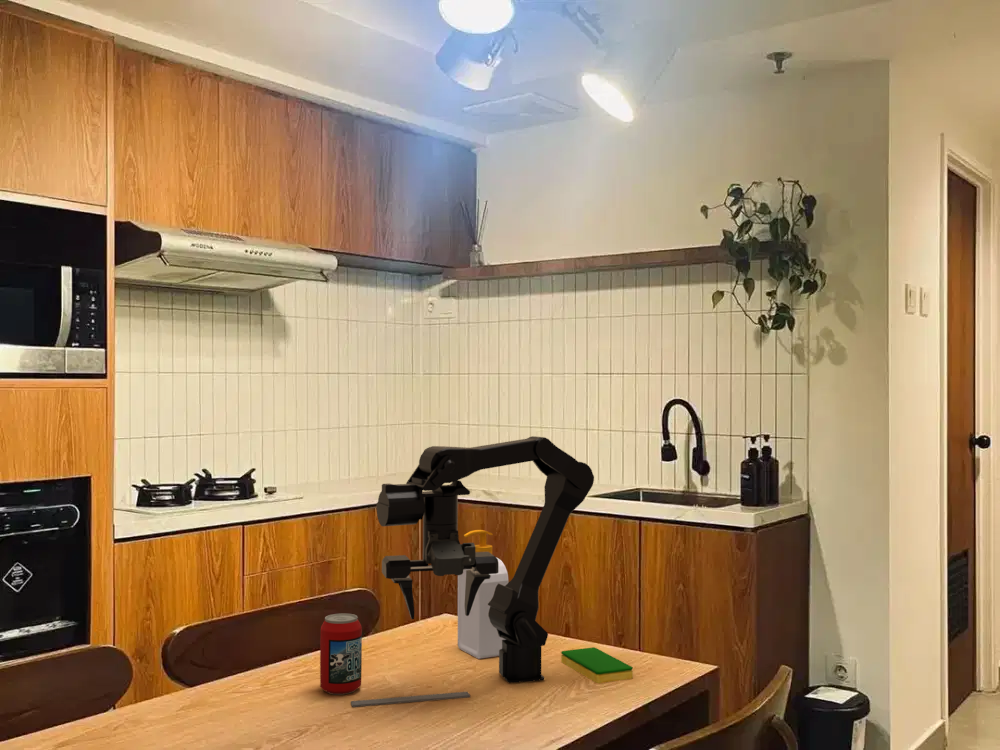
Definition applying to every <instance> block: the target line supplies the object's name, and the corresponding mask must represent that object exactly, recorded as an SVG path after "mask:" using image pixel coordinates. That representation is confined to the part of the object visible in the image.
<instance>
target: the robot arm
mask: <svg viewBox="0 0 1000 750" xmlns="http://www.w3.org/2000/svg"><path fill="white" fill-rule="evenodd" d="M526 462H527V463H528V462H532V463H533V464H534V465H535V466H536V467H537V469H538V470H539V471H540V472H541V473H542V474H543V475H544V476H546V480H545V482H544V505H543V507H542V509H541V512H540V513H539V515H538V516H539V517H538V519H537V521H536V523H535V526H534V529H533V530H532V533H531V536H530V537H529V539H528V542H527V544H526V547H525V549H524V551H523V554H522V556H521V558H520V560H519V563H518V565H517V568H516V571H515V573H514V576H513V577H512V579H510V580H509V581H508V584H507V585H506V586H503V585H501V584H497V586H496V588H495V592H494V595H493V598H492V599H491V601H490V602H489V603H488V605H489V606H490V609H489V613H488V616H489V619H490V622H491V624H492V625H493V627H495V628H496V629H497V632H498V635H499V637H501V638H504V639H506V640H502V649H500V650H499V656H498V673H499V674H500V676H501V677H502V678H503V679H504V680H505V681H506V682H507V683H508V684H515V683H516V684H517V683H519V684H520V683H528V682H540V681H541V682H542V681H543V682H544V681H545V679H546V678H545V676H544V675H543V674H542V646H545V645H546V643H547V639H548V637H549V633H548V632H547V631H546V630H545V628H543V626H541V625H540V624H539V623H538V621H536V620H537V616H538V612H539V607H540V605H539V589H540V587H541V584H542V582H543V579H544V578H545V574H546V572H547V570H548V567H549V564H550V563H551V560H552V558H553V556H554V553H555V551H556V548H557V546H558V543H559V541H560V539H561V536H562V534H563V532H564V529H565V527H566V525H567V523H568V520H569V518H570V516H571V514H572V513H573V511H575V510H576V509H577V507H579V506H580V505H581V503H583V502H584V501H585V499H586V497H587V495H588V494H589V492H590V491H591V489H592V487H593V485H594V483H595V482H594V481H595V475H594V474H593V470H592V468H591V466H589V465H588V464H587V463H586V462H582V461H578V460H577V459H576V458H574V457H573V456H572V455H571V454H568V453H567V452H565V451H564V450H562V449H561V448H559V447H558V446H557V445H555V443H553V442H552V441H551V440H550V439H549V438H547V437H545V436H534V435H533V436H529V437H526V438H522V439H517V440H511V441H503V442H497V443H492V444H486V445H478V446H473V447H465V446H464V447H462V446H460V447H459V446H446V445H444V446H440V445H437V446H436V445H432V446H428V447H426V448H425V449H424V450H423V452H422V453H421V455H420V457H419V461H418V465H417V466H416V468H415V469H414V471H413V473H412V474H411V475H410V476H409V478H408V480H407V481H406V482H405V483H400V484H393V483H382V484H381V491H380V493H379V494H378V500H377V502H376V516H377V521H378V523H379V525H380V526H381V527H394V526H409V525H410V526H411V525H417V524H418V523H419V521H420V520H422V559H413V560H411V559H410V558H409V557H408V556H407V555H406V554H403V555H402V554H399V555H385V556H384V557H383V559H382V560H381V573H382V575H383V576H384V578H385V579H390V580H391V581H392V582H393V583H394V584H398V585H399V588H400V590H401V593H402V595H403V599H404V602H405V604H406V607H407V610H408V614H409V617H410V619H411V620H415V603H414V594H413V579H412V578H411V576H410V574H411V573H413V572H414V573H415V572H416V573H417V572H430V571H431V572H432V573H433V574H434V575H435V576H437V577H444V576H446V575H447V576H449V575H455V576H458V575H461V574H463V569H470V570H466V586H465V615H466V616H469V614H470V611H471V608H472V605H473V602H474V599H475V596H476V593H477V591H478V589H479V587H480V585H481V584H482V582H483V581H484V580H485V579H490V577H491V575H489V574H497V573H498V559H499V558H498V557H497V558H498V559H497V558H496V556H495V555H494V554H493V553H492V554H491V553H489V552H475V545H476V544H475V543H474V542H463V543H460V540H459V538H460V537H459V530H458V525H459V524H458V522H459V521H458V520H459V519H458V517H459V516H458V514H459V513H458V512H459V509H458V507H459V505H458V504H459V501H458V499H459V497H458V496H469V495H470V494H471V491H470V490H469V489H468V488H467V487H466V486H465V485H464V484H463V482H462V481H461V480H462V479H465V478H468V477H469V476H471V475H472V474H475V473H476V472H479V471H481V470H488V469H493V468H500V467H505V466H510V465H515V464H516V465H517V464H522V463H526Z"/></svg>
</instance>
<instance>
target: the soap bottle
mask: <svg viewBox="0 0 1000 750" xmlns="http://www.w3.org/2000/svg"><path fill="white" fill-rule="evenodd" d="M474 534H475V535H476V534H479V536H478V537H479V538H478V539H479V543H478V544H474V545H475V552H489V553H491V554H492V555H493V545H491V544H487V535H489V536H493V533H492V532H490V531H487V530H483V529H475V530H470V531H468V532H467V533H465V534H463V536H464V538H468V537H470V536H472V535H474ZM495 557H496V556H495ZM496 558H497V559H498V573H497V574H489V575H491V577H490V579H485V580H484V581H483V582H482V584H481V585H480V587H479V589H478V591H477V593H476V596H475V599H474V602H473V605H472V608H471V611H470V614H469V616H466V615H465V586H466V570H470V569H463V574H461V575H457V647H458V649H459V650H461V651H463V652H465V653H466V654H468V655H470V656H472V657H474V658H475V659H477V660H481V659H488V658H493V657H494V658H495V657H499V650H500V649H502V640H506V639H504V638H501V637H499V635H498V632H497V629H496V628H495V627H493V625H492V624H491V622H490V619H489V616H488V613H489V609H490V606H489V605H488V603H489V602H490V601H491V599H492V598H493V595H494V592H495V588H496V586H497V584H501V585H503V586H506V585H507V584H508V583H509V574H508V570H507V568H506V565H505V564H504V562H503V561H502V560H501V559H500V558H498V557H496Z"/></svg>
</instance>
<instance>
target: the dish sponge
mask: <svg viewBox="0 0 1000 750" xmlns="http://www.w3.org/2000/svg"><path fill="white" fill-rule="evenodd" d="M560 653H561V658H560V660H561V661H560V662H561V663H562V664H563V665H565V666H566V667H569V668H570V669H572V670H573V671H576V672H577V673H578V674H581V675H582V676H584V677H586V678H587V679H589V680H591V681H592V682H594V683H596V684H603V683H610V682H618V681H625V680H626V681H627V680H632V679H633V677H634V675H633V673H634V672H633V670H634V668H633V666H631V665H629V664H627V663H625V662H624V661H622V660H620V659H617V658H616V657H614V656H612V655H611V654H609V653H607V652H605V651H603V650H601V649H598V648H597V647H584V648H577V649H570V650H562V651H561V652H560Z"/></svg>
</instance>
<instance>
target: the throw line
mask: <svg viewBox="0 0 1000 750" xmlns="http://www.w3.org/2000/svg"><path fill="white" fill-rule="evenodd" d="M465 698H466V699H467V698H471V695H470V693H469V692H468V691H459V692H458V691H457V692H446V693H445V692H444V693H433V694H420V695H410V696H409V695H408V696H407V695H406V696H398V697H397V696H395V697H385V698H374V699H373V698H372V699H371V698H370V699H361V700H351V701H350V705H351V708H356V707H357V708H358V707H360V708H361V707H369V706H380V705H381V706H382V705H394V704H405V703H417V702H427V701H428V702H430V701H441V700H451V699H452V700H453V699H465Z"/></svg>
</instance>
